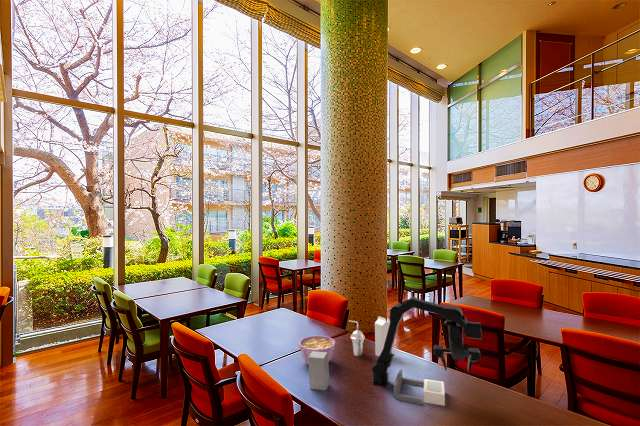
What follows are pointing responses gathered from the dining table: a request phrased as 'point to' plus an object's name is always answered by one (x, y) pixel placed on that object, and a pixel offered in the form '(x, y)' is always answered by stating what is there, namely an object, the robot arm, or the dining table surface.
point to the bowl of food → (316, 346)
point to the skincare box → (318, 370)
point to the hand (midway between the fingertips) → (457, 371)
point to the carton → (434, 392)
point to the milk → (380, 334)
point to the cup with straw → (357, 341)
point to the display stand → (401, 380)
